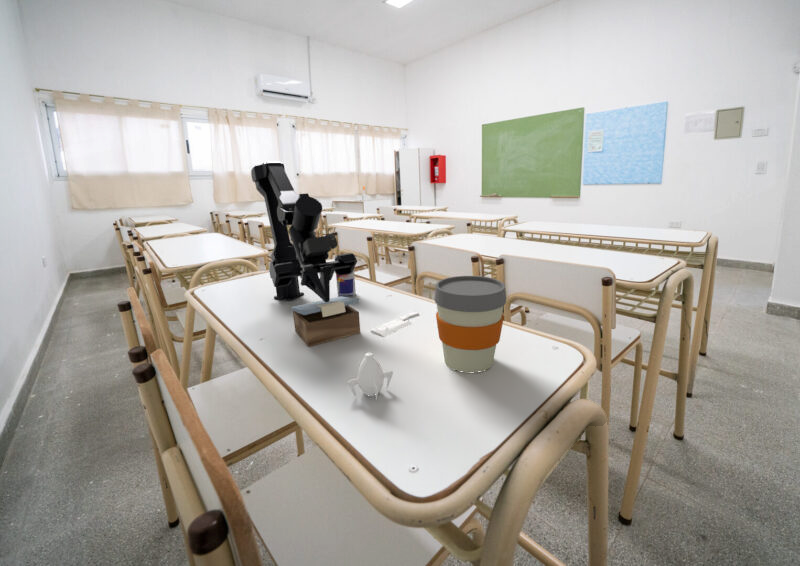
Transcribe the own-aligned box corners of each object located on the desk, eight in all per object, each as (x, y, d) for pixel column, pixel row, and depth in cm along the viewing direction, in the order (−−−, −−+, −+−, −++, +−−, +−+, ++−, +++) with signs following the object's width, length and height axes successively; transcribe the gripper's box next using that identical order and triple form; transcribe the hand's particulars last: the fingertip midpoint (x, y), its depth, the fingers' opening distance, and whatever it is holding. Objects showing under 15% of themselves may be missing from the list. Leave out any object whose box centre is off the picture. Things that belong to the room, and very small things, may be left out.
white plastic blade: (429, 319, 91) (429, 315, 90) (385, 339, 81) (385, 335, 80) (414, 314, 94) (414, 310, 94) (370, 333, 84) (370, 328, 84)
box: (295, 331, 86) (292, 311, 84) (342, 319, 92) (341, 300, 90) (308, 346, 77) (306, 324, 76) (360, 332, 83) (358, 312, 82)
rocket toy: (365, 382, 63) (362, 340, 61) (393, 388, 61) (391, 345, 59) (348, 399, 59) (344, 354, 57) (378, 406, 57) (375, 360, 54)
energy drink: (334, 297, 109) (330, 257, 106) (343, 291, 114) (340, 253, 110) (350, 298, 107) (347, 258, 104) (358, 293, 112) (356, 254, 108)
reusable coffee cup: (433, 346, 75) (432, 276, 71) (494, 345, 75) (497, 274, 71) (437, 379, 63) (436, 297, 59) (511, 378, 63) (515, 295, 59)
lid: (292, 315, 84) (291, 306, 84) (342, 304, 90) (341, 295, 90) (306, 321, 75) (304, 311, 75) (361, 308, 81) (359, 298, 81)
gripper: (267, 226, 75) (289, 290, 69) (350, 218, 85) (376, 274, 79) (264, 257, 84) (283, 317, 78) (340, 247, 93) (362, 299, 87)
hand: (327, 301), depth 80 cm, fingers closed
